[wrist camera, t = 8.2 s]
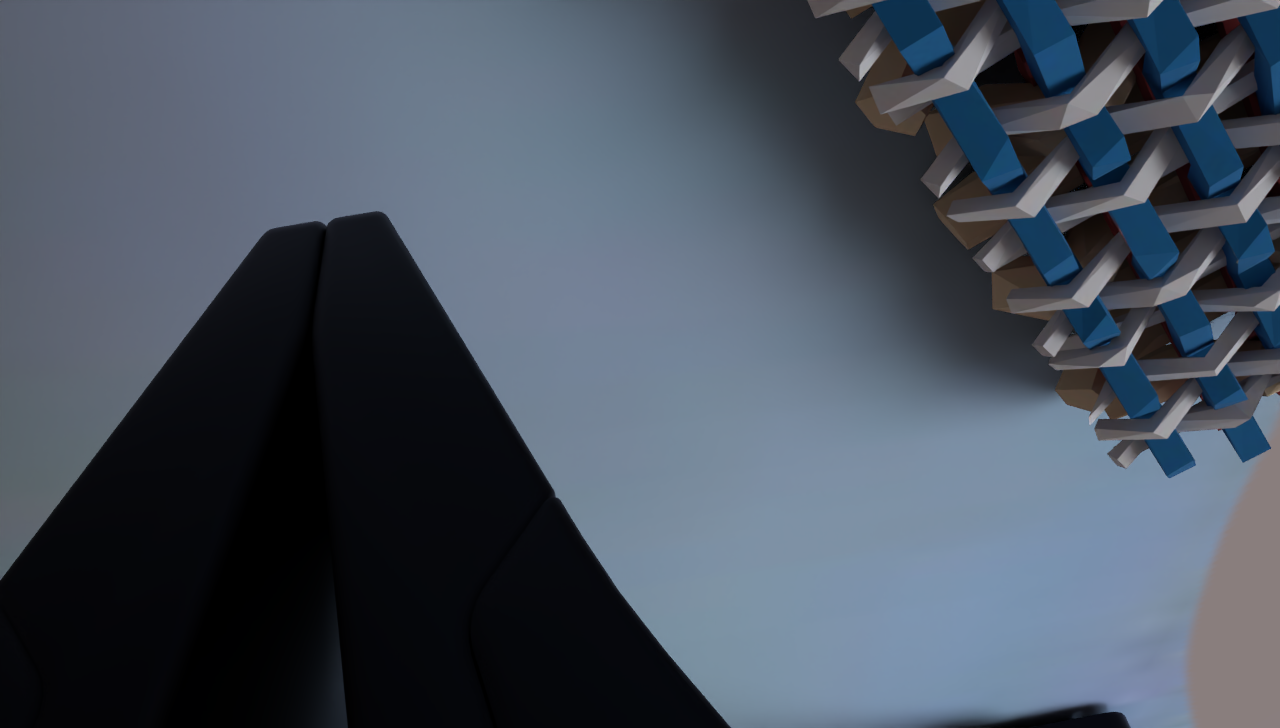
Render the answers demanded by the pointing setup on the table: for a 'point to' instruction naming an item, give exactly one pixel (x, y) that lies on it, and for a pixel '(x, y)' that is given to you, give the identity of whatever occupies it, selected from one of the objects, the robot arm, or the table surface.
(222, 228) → the table surface
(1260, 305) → the woven mat
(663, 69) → the table surface
